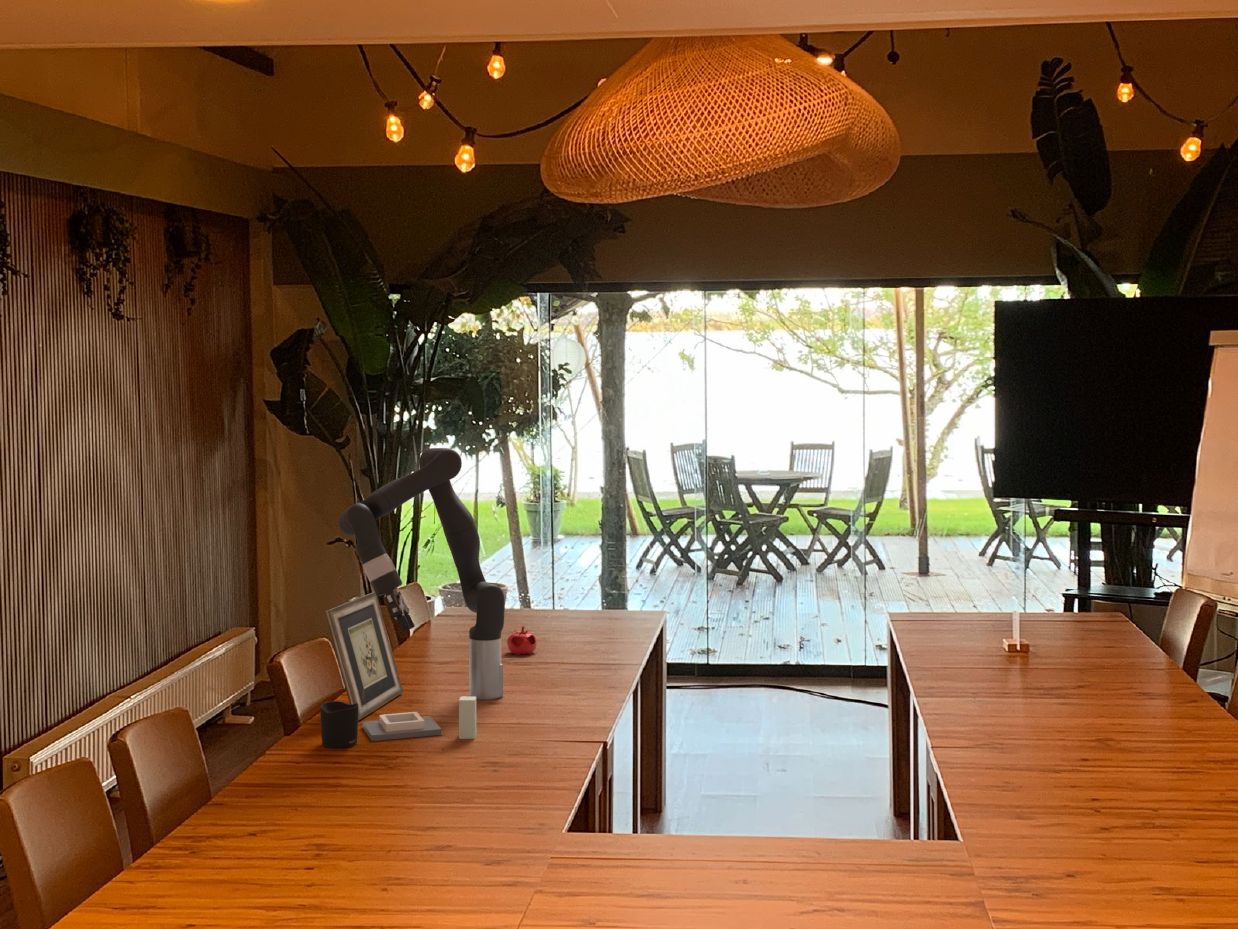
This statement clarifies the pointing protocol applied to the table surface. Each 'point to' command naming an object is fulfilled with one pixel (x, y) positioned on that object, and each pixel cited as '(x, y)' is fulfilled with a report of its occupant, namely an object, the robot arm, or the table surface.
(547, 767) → the table surface
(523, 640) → the pomegranate
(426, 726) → the grey base with frame
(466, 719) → the sage block
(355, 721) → the pen holder
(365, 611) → the picture frame
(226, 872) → the table surface
